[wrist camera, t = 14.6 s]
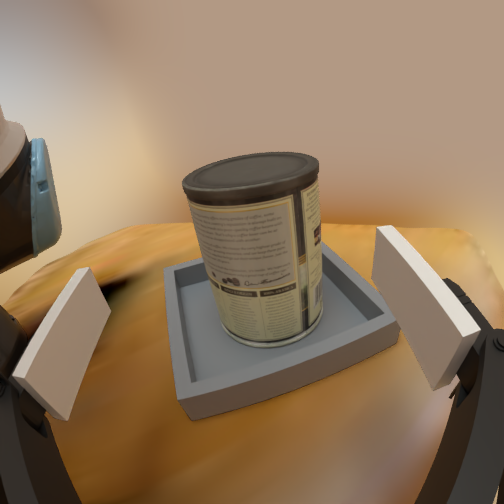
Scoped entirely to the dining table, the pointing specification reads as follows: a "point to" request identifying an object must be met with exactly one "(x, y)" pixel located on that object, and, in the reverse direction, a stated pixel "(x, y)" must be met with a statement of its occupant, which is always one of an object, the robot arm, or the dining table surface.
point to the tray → (267, 359)
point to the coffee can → (261, 244)
